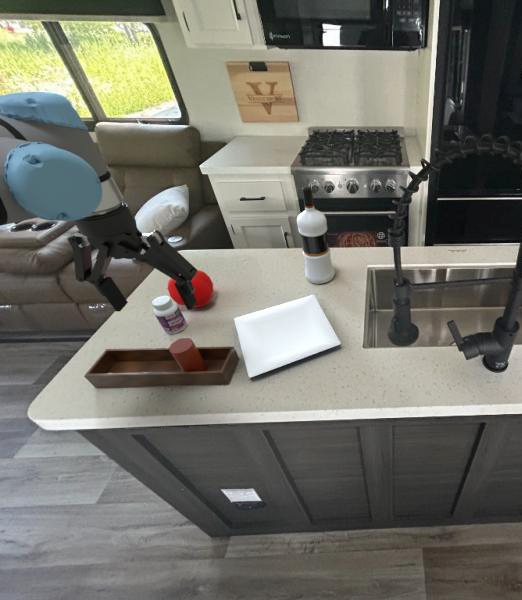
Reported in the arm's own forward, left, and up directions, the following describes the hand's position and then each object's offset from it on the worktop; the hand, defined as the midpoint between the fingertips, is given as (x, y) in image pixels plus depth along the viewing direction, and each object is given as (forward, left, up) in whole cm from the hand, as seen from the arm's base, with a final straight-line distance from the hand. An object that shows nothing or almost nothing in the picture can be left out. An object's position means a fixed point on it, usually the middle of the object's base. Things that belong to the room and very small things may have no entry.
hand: (157, 306), depth 66 cm
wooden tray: (-5, +2, -20) cm, 20 cm away
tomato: (+9, +25, -20) cm, 33 cm away
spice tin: (0, -2, -19) cm, 19 cm away
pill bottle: (+1, +17, -20) cm, 26 cm away
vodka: (+43, +12, -20) cm, 49 cm away
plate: (+22, -5, -20) cm, 30 cm away
